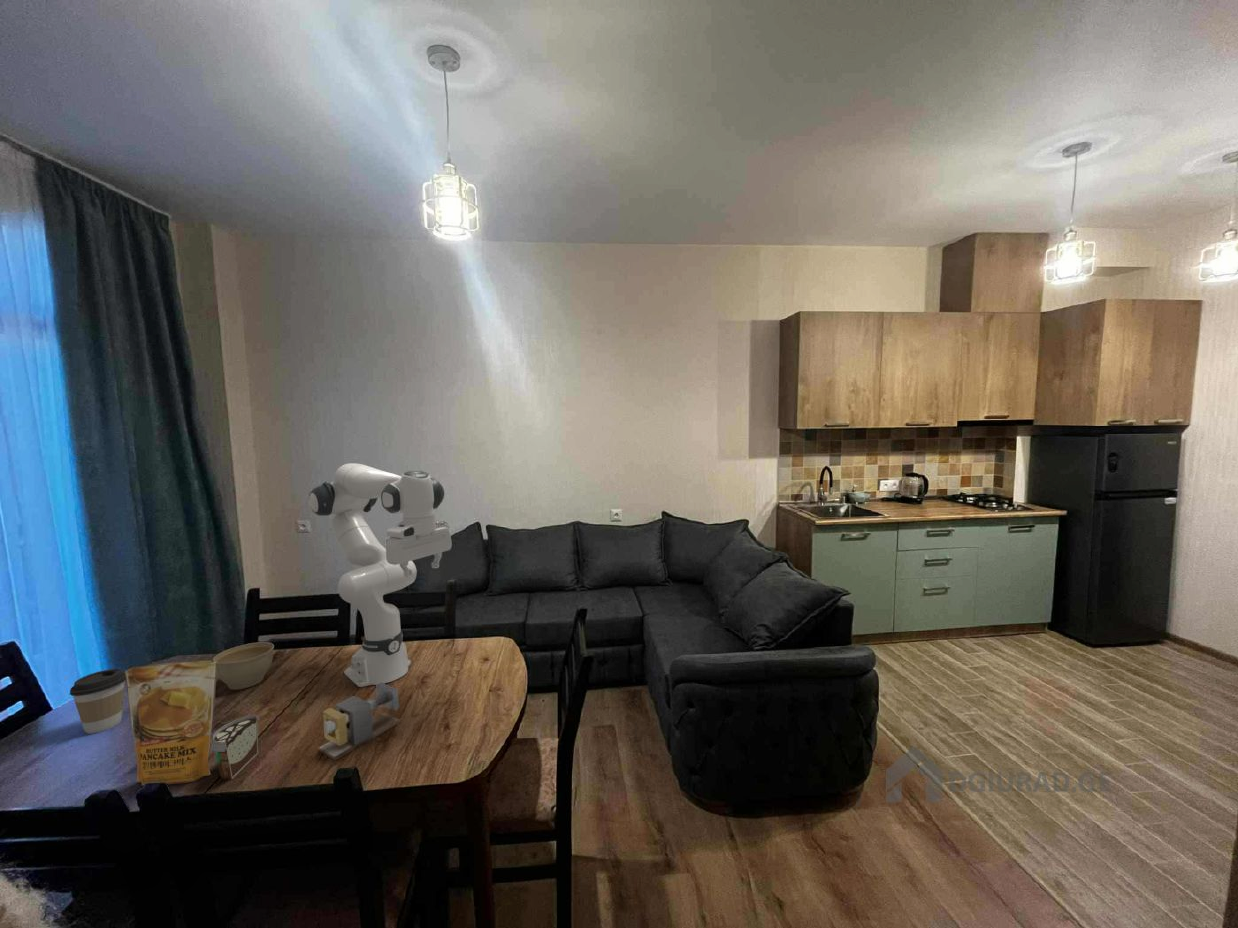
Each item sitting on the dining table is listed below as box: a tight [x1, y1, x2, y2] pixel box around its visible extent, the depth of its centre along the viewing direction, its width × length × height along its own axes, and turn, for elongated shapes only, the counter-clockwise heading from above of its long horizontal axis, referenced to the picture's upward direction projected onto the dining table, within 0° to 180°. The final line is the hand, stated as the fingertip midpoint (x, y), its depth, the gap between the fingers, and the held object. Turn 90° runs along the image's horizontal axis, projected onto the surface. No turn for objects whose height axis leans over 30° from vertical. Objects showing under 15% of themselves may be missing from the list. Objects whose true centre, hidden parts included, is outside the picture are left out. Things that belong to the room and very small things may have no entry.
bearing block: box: [335, 695, 374, 749], centre depth 129 cm, size 8×5×10 cm, turn 59°
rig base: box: [318, 711, 401, 761], centre depth 130 cm, size 8×18×1 cm, turn 149°
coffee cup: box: [69, 668, 126, 735], centre depth 138 cm, size 11×11×15 cm
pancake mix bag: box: [123, 659, 218, 787], centre depth 116 cm, size 7×19×28 cm, turn 96°
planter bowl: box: [212, 641, 275, 690], centre depth 161 cm, size 16×16×11 cm
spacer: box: [322, 707, 348, 746], centre depth 124 cm, size 7×2×7 cm, turn 59°
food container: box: [210, 714, 260, 780], centre depth 119 cm, size 12×6×10 cm, turn 5°
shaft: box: [323, 683, 400, 734], centre depth 130 cm, size 8×18×6 cm, turn 149°
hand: (422, 571), depth 141 cm, fingers open, 8 cm apart
